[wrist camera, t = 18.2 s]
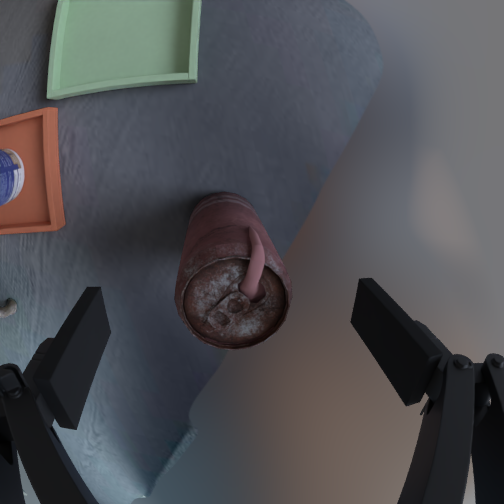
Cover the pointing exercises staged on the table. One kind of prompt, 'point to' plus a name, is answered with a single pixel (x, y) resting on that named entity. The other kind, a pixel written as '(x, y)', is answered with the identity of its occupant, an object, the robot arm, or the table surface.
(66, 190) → the table surface
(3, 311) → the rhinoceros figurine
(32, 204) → the terracotta tray
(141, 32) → the sage tray
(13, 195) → the pill bottle
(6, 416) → the robot arm
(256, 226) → the can
